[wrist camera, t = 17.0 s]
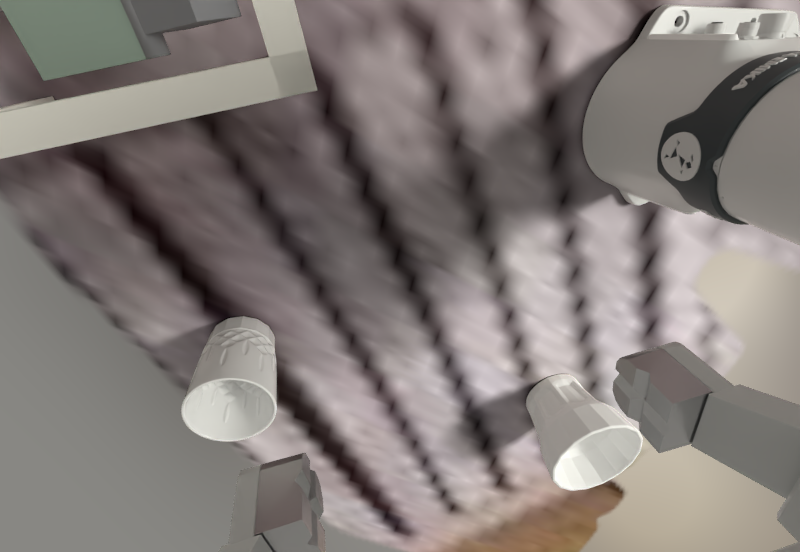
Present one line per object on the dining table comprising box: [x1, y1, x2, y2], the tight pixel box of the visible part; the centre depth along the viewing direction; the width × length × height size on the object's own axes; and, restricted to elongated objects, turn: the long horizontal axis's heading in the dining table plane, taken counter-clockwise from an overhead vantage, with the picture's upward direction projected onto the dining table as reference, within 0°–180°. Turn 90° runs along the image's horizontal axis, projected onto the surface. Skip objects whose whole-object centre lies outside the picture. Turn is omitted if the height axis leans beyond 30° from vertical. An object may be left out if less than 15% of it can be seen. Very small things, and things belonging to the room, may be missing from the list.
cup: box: [526, 374, 643, 491], centre depth 56 cm, size 12×12×11 cm
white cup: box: [181, 316, 277, 441], centre depth 40 cm, size 8×8×10 cm
